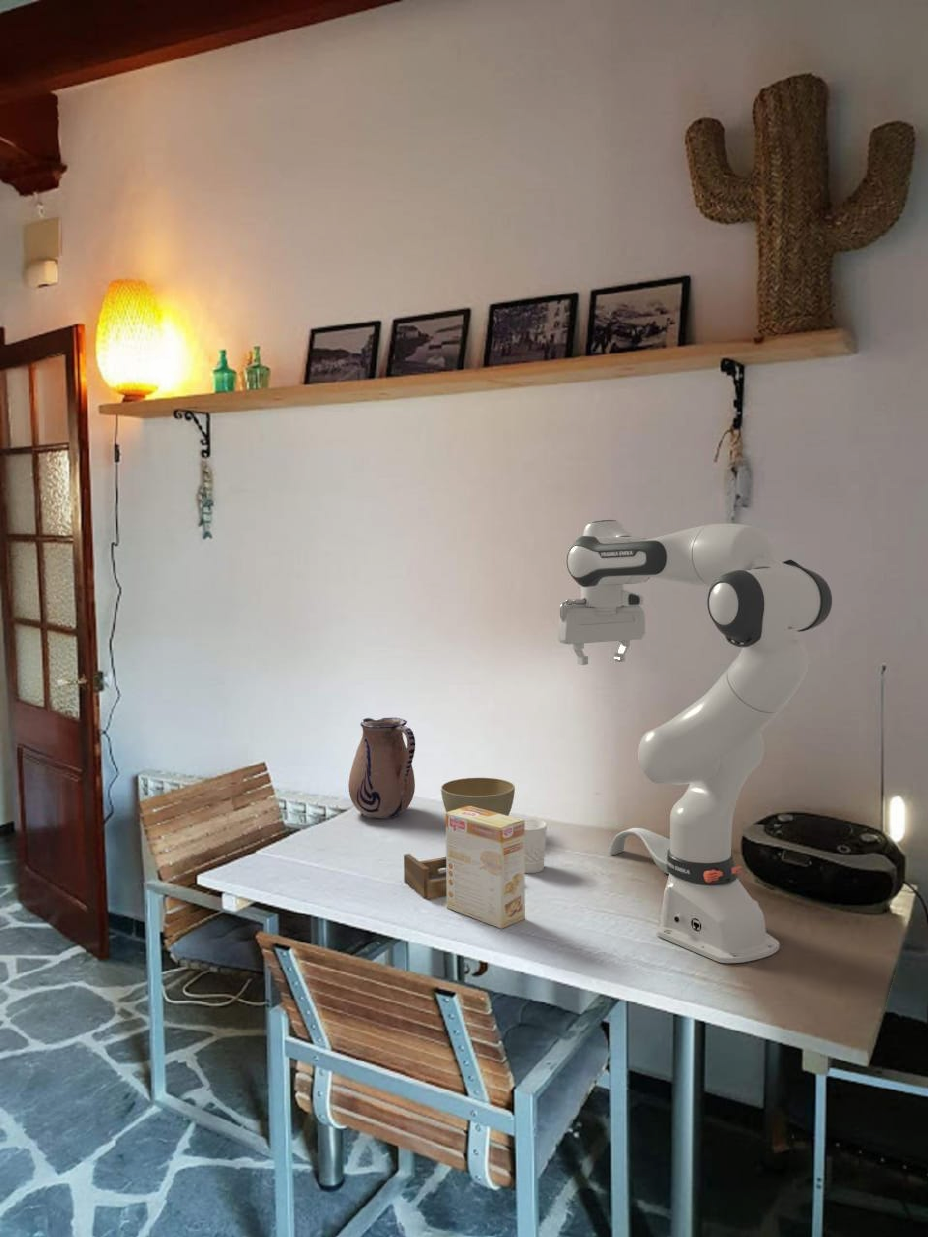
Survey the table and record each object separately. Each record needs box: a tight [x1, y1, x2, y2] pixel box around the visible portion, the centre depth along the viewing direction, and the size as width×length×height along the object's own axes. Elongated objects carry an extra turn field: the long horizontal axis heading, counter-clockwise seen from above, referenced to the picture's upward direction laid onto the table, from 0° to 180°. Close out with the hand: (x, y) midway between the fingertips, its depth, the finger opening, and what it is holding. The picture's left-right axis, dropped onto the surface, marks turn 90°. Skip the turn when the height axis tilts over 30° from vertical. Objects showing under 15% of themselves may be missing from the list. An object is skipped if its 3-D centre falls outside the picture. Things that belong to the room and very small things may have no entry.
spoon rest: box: [608, 827, 670, 875], centre depth 209 cm, size 24×12×7 cm, turn 44°
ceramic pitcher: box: [347, 717, 416, 820], centre depth 248 cm, size 18×21×25 cm
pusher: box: [438, 868, 446, 874], centre depth 200 cm, size 5×9×5 cm, turn 27°
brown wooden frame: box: [403, 853, 447, 901], centre depth 201 cm, size 21×12×6 cm, turn 117°
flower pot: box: [440, 777, 516, 816], centre depth 232 cm, size 18×18×12 cm
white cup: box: [521, 818, 548, 874], centre depth 208 cm, size 8×8×10 cm
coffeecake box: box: [445, 806, 526, 930], centre depth 183 cm, size 15×7×20 cm, turn 45°
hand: (601, 663), depth 200 cm, fingers open, 8 cm apart
